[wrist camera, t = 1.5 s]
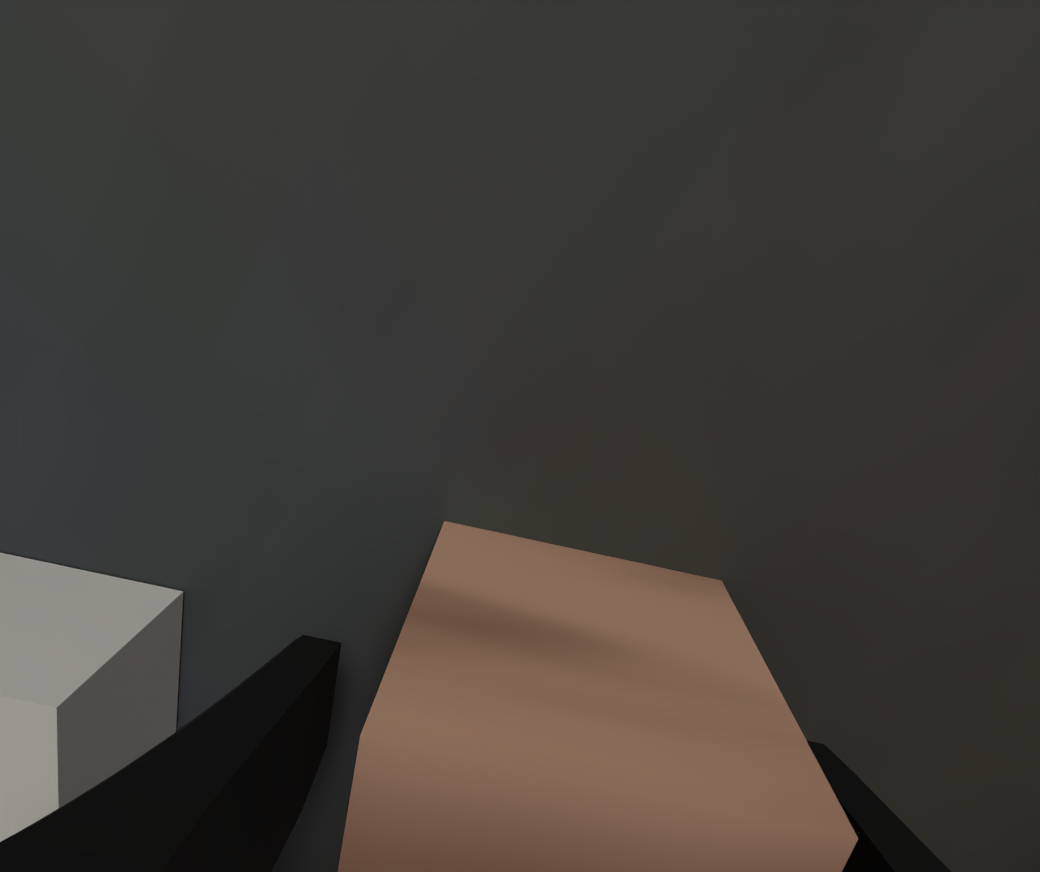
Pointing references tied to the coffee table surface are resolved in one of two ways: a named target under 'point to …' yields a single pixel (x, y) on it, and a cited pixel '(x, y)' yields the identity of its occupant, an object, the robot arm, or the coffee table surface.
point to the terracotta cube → (581, 727)
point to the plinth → (79, 681)
